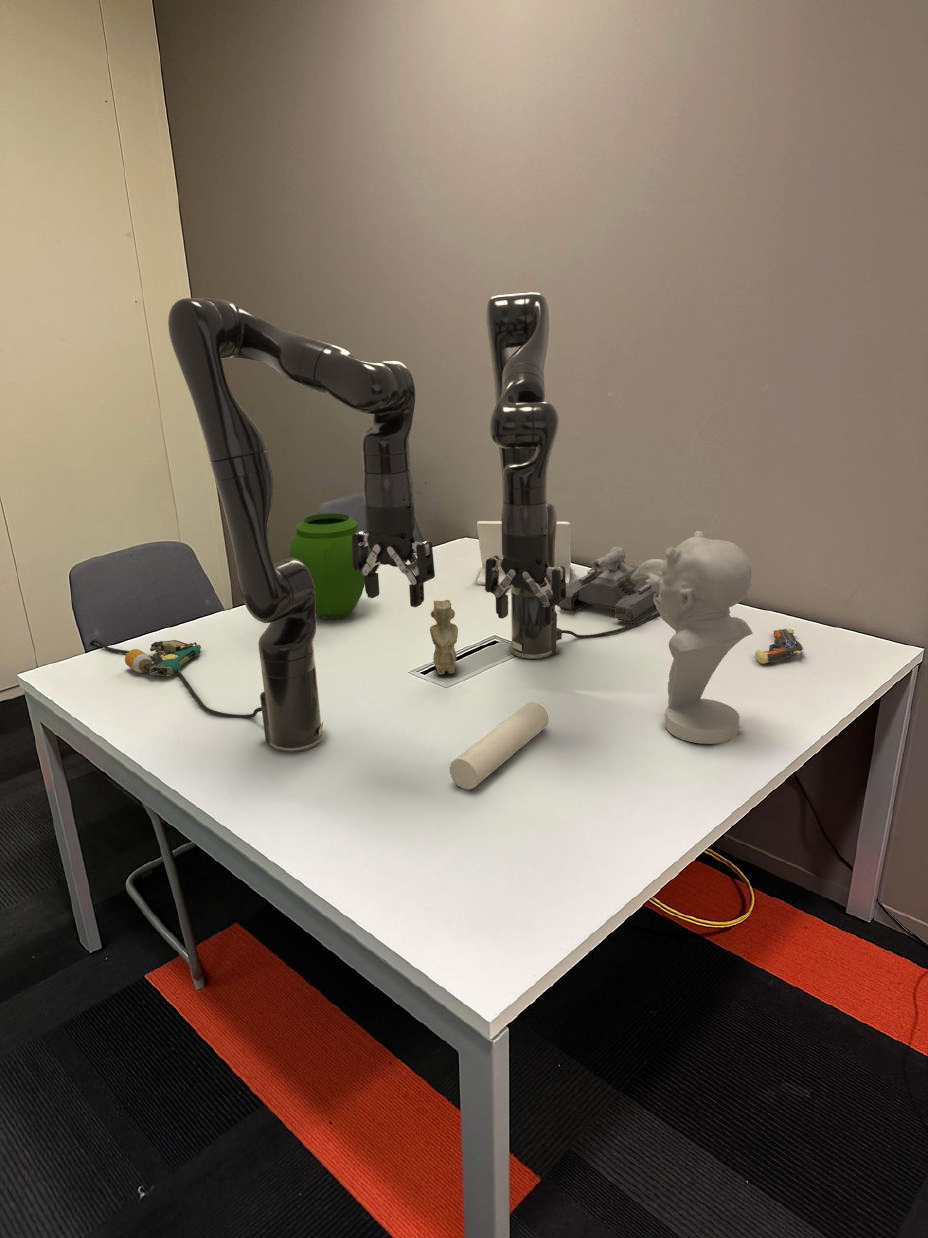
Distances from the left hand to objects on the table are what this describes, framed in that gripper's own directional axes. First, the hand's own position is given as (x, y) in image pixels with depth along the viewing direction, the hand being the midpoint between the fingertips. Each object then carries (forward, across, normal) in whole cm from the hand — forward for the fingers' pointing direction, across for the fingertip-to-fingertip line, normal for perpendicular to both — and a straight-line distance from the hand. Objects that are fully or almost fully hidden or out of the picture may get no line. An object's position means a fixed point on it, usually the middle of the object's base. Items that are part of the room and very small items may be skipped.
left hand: (394, 601), depth 134 cm
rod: (+29, +13, +10) cm, 34 cm away
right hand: (+7, +13, +18) cm, 24 cm away
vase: (+29, -60, +49) cm, 83 cm away
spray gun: (+29, -71, +7) cm, 77 cm away
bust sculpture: (+29, +35, +38) cm, 59 cm away
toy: (+29, -1, +90) cm, 94 cm away
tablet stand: (+29, -34, +100) cm, 109 cm away
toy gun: (+29, +40, +80) cm, 94 cm away
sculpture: (+29, -16, +35) cm, 48 cm away
